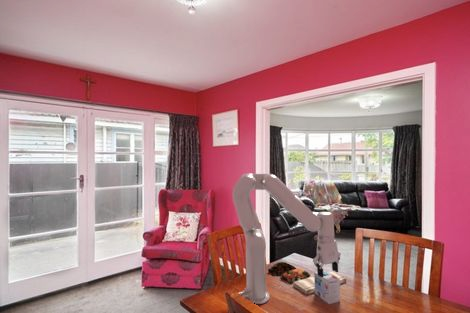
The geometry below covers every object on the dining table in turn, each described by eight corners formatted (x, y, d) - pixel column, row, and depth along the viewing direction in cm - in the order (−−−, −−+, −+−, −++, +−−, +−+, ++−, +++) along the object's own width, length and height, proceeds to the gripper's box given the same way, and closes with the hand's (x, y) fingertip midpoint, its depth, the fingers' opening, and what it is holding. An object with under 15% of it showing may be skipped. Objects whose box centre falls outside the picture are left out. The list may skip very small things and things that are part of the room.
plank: (306, 294, 126) (306, 290, 126) (293, 285, 135) (293, 281, 135) (346, 281, 139) (346, 277, 139) (331, 274, 148) (331, 271, 148)
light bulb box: (314, 293, 127) (313, 271, 127) (325, 290, 130) (324, 269, 130) (329, 304, 117) (328, 280, 117) (340, 301, 120) (340, 278, 120)
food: (263, 272, 153) (263, 266, 153) (283, 264, 165) (283, 259, 165) (293, 286, 136) (293, 279, 136) (313, 276, 148) (313, 270, 148)
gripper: (318, 243, 117) (320, 281, 116) (345, 236, 124) (347, 272, 124) (307, 239, 123) (308, 275, 123) (332, 233, 131) (334, 266, 131)
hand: (328, 273), depth 124 cm, fingers open, 9 cm apart
